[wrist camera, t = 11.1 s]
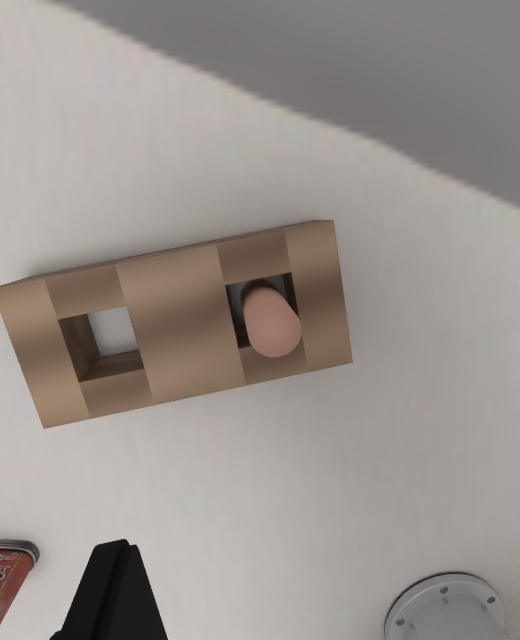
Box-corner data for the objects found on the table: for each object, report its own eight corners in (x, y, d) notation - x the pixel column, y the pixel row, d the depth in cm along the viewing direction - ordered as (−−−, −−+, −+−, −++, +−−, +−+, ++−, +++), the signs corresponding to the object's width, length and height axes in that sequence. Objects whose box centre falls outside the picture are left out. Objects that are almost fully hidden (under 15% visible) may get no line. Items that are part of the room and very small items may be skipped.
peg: (280, 310, 32) (305, 351, 22) (244, 318, 32) (253, 362, 22) (274, 274, 31) (297, 300, 22) (236, 281, 31) (243, 311, 22)
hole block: (333, 341, 33) (352, 362, 28) (70, 397, 32) (43, 428, 27) (315, 220, 31) (333, 220, 26) (28, 276, 30) (-9, 288, 25)
